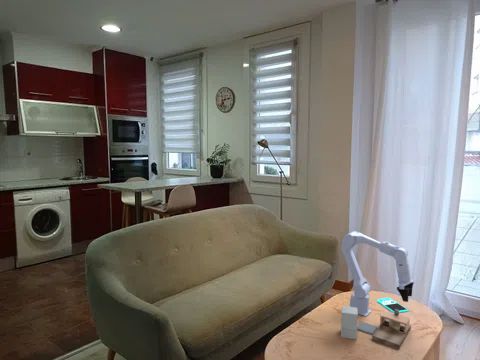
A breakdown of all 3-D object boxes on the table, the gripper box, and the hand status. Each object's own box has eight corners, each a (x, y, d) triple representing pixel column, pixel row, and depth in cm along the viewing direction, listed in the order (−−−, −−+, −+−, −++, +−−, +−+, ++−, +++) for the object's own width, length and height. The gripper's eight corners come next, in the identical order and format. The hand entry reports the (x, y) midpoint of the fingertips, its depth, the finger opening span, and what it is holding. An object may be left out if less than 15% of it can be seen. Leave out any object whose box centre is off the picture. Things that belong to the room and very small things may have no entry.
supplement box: (356, 332, 165) (358, 307, 164) (356, 340, 159) (358, 314, 157) (341, 329, 168) (342, 305, 166) (340, 337, 161) (341, 312, 159)
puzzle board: (371, 339, 159) (372, 335, 159) (385, 320, 176) (385, 316, 176) (399, 349, 152) (399, 345, 152) (410, 328, 169) (411, 324, 169)
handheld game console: (389, 299, 201) (389, 297, 201) (409, 312, 186) (409, 309, 186) (375, 301, 199) (375, 299, 198) (394, 314, 183) (394, 312, 183)
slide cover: (379, 324, 168) (380, 310, 167) (383, 319, 173) (384, 305, 172) (405, 333, 160) (406, 318, 160) (409, 327, 166) (410, 313, 165)
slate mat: (356, 329, 168) (356, 327, 168) (361, 322, 174) (361, 321, 174) (372, 334, 163) (372, 333, 163) (377, 327, 169) (377, 326, 169)
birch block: (388, 330, 167) (389, 319, 166) (391, 327, 170) (391, 315, 169) (397, 333, 164) (398, 321, 164) (399, 330, 167) (400, 318, 167)
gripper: (408, 276, 162) (412, 304, 162) (415, 268, 173) (419, 294, 173) (393, 276, 166) (397, 303, 166) (400, 267, 178) (404, 293, 177)
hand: (407, 298), depth 170 cm, fingers open, 7 cm apart
